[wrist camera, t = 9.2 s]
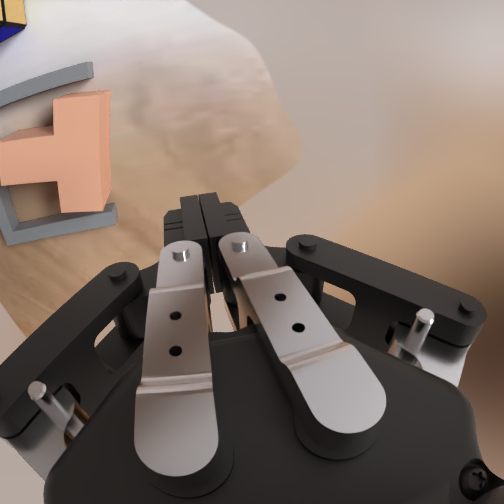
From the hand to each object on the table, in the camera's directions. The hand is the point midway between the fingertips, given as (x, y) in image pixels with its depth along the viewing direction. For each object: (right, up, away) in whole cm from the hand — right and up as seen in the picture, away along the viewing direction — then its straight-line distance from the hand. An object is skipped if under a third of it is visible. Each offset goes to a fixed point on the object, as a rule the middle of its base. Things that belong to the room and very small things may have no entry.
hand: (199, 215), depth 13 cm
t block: (-16, +9, +12) cm, 22 cm away
